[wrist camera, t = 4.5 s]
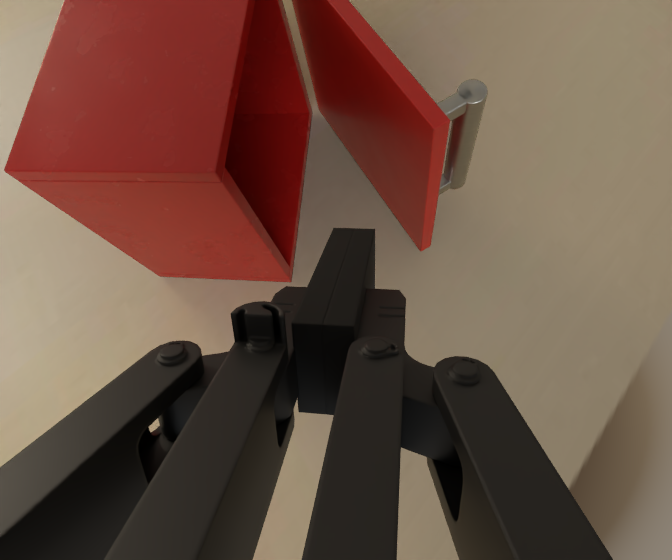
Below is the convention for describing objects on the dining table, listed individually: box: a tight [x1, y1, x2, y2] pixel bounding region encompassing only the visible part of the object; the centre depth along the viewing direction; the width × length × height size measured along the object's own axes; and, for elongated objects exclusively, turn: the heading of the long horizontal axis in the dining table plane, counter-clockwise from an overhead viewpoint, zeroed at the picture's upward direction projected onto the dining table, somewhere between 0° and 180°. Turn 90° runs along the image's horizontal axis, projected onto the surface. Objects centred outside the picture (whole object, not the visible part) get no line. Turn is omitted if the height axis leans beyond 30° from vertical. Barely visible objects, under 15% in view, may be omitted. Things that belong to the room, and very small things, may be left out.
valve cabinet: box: [4, 0, 312, 282], centre depth 28 cm, size 10×14×14 cm
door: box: [292, 0, 488, 251], centre depth 27 cm, size 4×14×13 cm, turn 30°
